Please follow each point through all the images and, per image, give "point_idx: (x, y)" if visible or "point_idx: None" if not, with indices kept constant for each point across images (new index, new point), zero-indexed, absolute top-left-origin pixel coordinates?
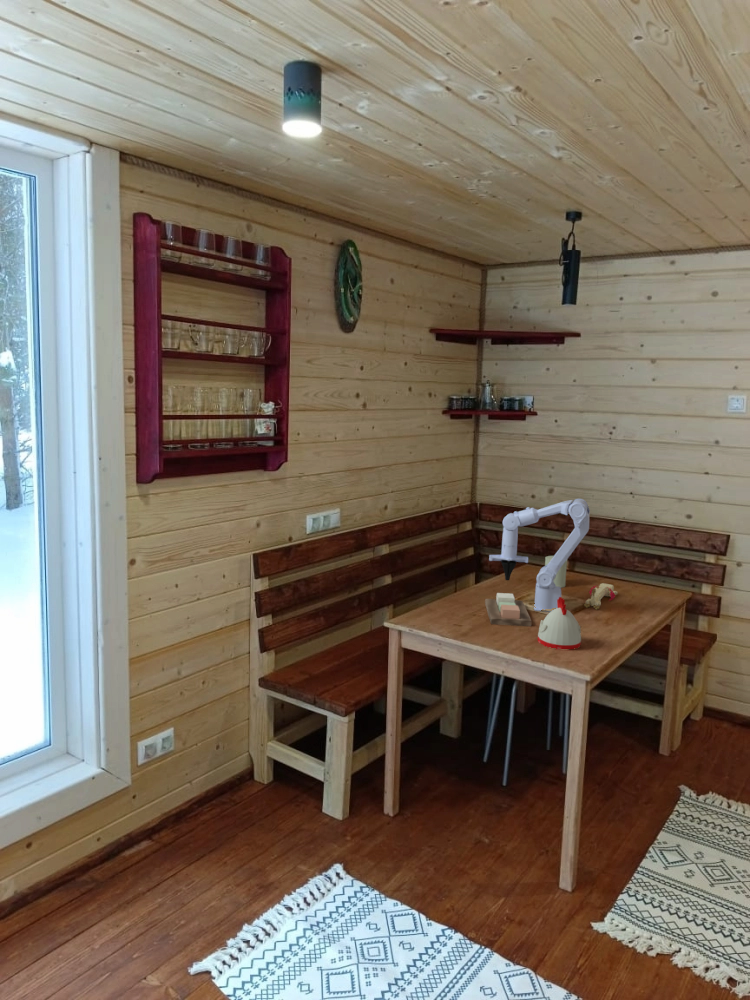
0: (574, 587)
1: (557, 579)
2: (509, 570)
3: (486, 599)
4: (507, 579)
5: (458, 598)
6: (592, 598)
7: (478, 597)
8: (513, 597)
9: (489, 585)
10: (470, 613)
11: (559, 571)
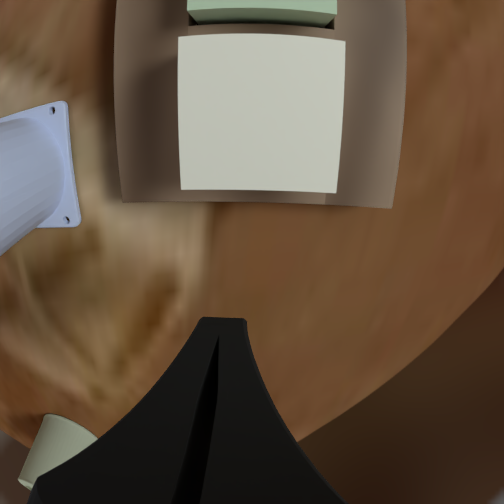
0: (24, 408)
1: (48, 435)
2: (181, 422)
3: (389, 189)
4: (222, 323)
5: (475, 273)
6: None
7: (380, 307)
8: (187, 57)
9: None
10: (476, 17)
11: (37, 455)
